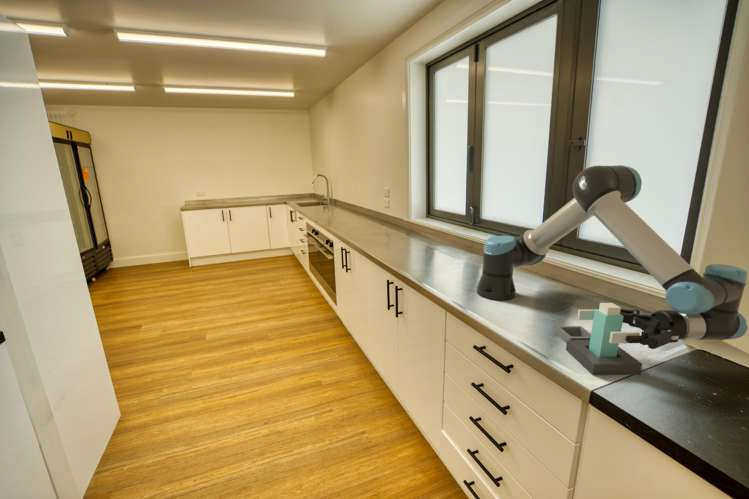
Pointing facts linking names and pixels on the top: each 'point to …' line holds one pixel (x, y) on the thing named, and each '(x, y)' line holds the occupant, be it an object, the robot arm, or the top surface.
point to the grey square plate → (572, 333)
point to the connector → (605, 330)
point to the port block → (603, 360)
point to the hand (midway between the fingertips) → (593, 325)
